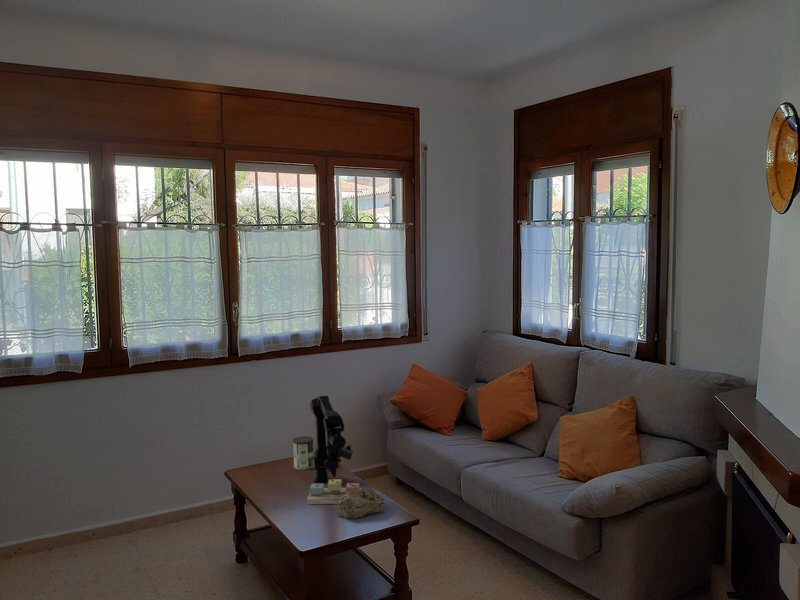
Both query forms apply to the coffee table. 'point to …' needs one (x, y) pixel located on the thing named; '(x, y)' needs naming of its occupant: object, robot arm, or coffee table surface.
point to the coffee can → (303, 452)
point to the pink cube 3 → (352, 487)
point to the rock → (359, 503)
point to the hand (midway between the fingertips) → (334, 476)
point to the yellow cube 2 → (334, 486)
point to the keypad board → (326, 497)
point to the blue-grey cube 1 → (316, 489)
